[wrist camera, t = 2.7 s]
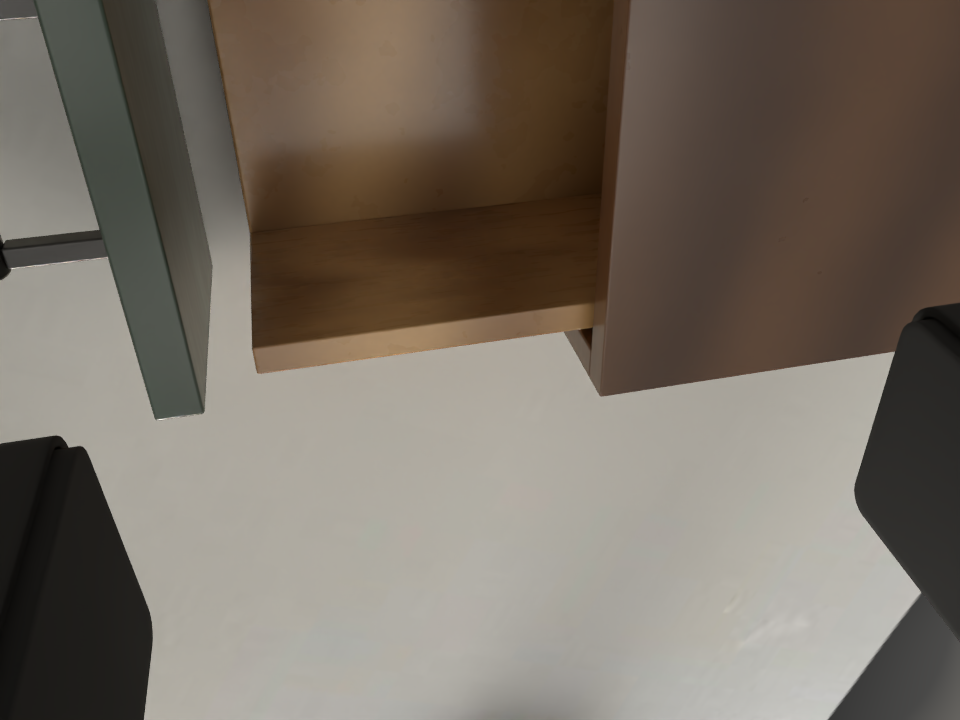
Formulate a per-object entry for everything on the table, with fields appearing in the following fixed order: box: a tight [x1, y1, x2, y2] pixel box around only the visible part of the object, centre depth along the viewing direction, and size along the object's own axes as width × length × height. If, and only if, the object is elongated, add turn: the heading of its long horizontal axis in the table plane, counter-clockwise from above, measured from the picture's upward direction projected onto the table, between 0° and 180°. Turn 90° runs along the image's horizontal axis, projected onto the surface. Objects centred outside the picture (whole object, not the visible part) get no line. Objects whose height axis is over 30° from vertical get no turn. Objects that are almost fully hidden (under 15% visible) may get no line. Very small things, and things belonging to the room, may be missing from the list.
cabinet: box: [564, 0, 960, 396], centre depth 25 cm, size 17×13×10 cm
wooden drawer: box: [0, 0, 614, 420], centre depth 22 cm, size 20×12×8 cm, turn 90°
